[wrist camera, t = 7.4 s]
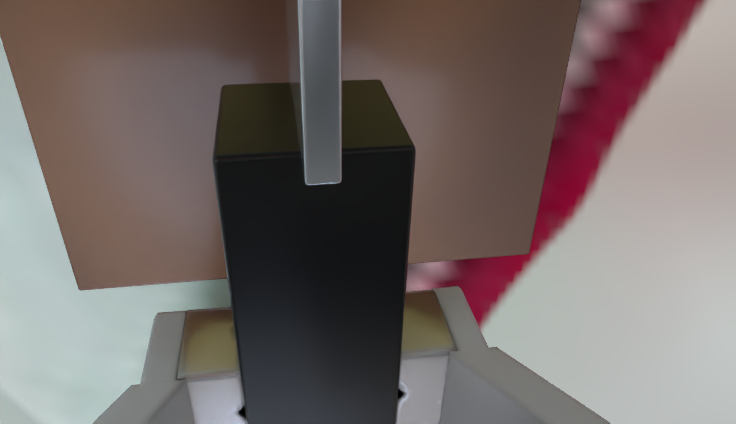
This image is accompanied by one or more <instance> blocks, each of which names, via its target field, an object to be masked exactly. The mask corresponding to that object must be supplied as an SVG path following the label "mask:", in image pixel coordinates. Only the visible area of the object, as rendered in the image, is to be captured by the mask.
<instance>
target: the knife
mask: <svg viewBox="0 0 736 424" xmlns="http://www.w3.org/2000/svg"><path fill="white" fill-rule="evenodd" d="M285 4H286V24H287V44H288V64H289V81H290V82H287V83H258V84H229V85H224V86H222V88H221V92H220V100H219V108H218V116H217V124H216V132H215V140H214V148H213V156H212V165H213V173H214V180H215V188H216V195H217V203H218V211H219V218H220V226H221V233H222V241H223V248H224V256H225V264H226V271H227V279H228V286H229V294H230V301H231V309H232V317H233V324H234V332H235V339H236V347H237V354H238V362H239V370H240V377H241V385H242V392H243V400H244V407H245V415H246V423H247V424H396V416H397V403H398V389H399V375H400V362H401V348H402V335H403V321H404V308H405V294H406V280H407V267H408V253H409V240H410V226H411V212H412V199H413V185H414V172H415V158H416V149H415V146H414V144H413V142H412V140H411V138H410V136H409V134H408V132H407V130H406V128H405V126H404V124H403V123H402V121H401V119H400V117H399V115H398V113H397V111H396V109H395V107H394V105H393V103H392V101H391V99H390V97H389V95H388V93H387V91H386V89H385V87H384V85H383V83H382V81H380V80H378V79H373V80H345V81H342V0H285Z"/></svg>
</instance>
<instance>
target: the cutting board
mask: <svg viewBox="0 0 736 424" xmlns="http://www.w3.org/2000/svg"><path fill="white" fill-rule="evenodd" d="M580 3H581V0H342V81H345V80H373V79H378V80H380V81H382V83H383V85H384V87H385V89H386V91H387V93H388V95H389V97H390V99H391V101H392V103H393V105H394V107H395V109H396V111H397V113H398V115H399V117H400V119H401V121H402V123H403V124H404V126H405V128H406V130H407V132H408V134H409V136H410V138H411V140H412V142H413V144H414V146H415V149H416V158H415V172H414V185H413V199H412V212H411V226H410V240H409V253H408V264H412V263H424V262H436V261H449V260H461V259H473V258H485V257H498V256H510V255H522V254H529V251H530V246H531V241H532V236H533V232H534V227H535V222H536V217H537V212H538V207H539V202H540V197H541V193H542V188H543V183H544V178H545V173H546V168H547V163H548V158H549V154H550V149H551V144H552V139H553V134H554V129H555V124H556V120H557V115H558V110H559V105H560V100H561V95H562V90H563V85H564V81H565V76H566V71H567V66H568V61H569V56H570V51H571V46H572V42H573V37H574V32H575V27H576V22H577V17H578V12H579V8H580ZM0 36H1V39H2V42H3V46H4V49H5V52H6V55H7V59H8V62H9V65H10V68H11V72H12V75H13V78H14V81H15V85H16V88H17V91H18V94H19V98H20V101H21V104H22V107H23V110H24V114H25V117H26V120H27V123H28V127H29V130H30V133H31V136H32V140H33V143H34V146H35V149H36V153H37V156H38V159H39V162H40V166H41V169H42V172H43V175H44V178H45V182H46V185H47V188H48V191H49V195H50V198H51V201H52V204H53V208H54V211H55V214H56V217H57V221H58V224H59V227H60V230H61V234H62V237H63V240H64V243H65V247H66V250H67V253H68V256H69V259H70V263H71V266H72V269H73V272H74V276H75V279H76V282H77V285H78V289H79V290H92V289H104V288H116V287H129V286H141V285H153V284H165V283H178V282H190V281H202V280H215V279H227V271H226V264H225V256H224V248H223V241H222V233H221V226H220V218H219V211H218V203H217V195H216V188H215V180H214V173H213V165H212V156H213V148H214V140H215V132H216V124H217V116H218V108H219V100H220V92H221V88H222V86H224V85H229V84H258V83H287V82H290V81H289V64H288V44H287V24H286V4H285V0H0Z"/></svg>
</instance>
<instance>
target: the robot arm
mask: <svg viewBox="0 0 736 424" xmlns="http://www.w3.org/2000/svg"><path fill="white" fill-rule="evenodd" d="M92 424H247V423H246V415H245V407H244V400H243V392H242V385H241V377H240V370H239V362H238V354H237V347H236V339H235V332H234V324H233V317H232V309H231V307H228V308H213V309H198V310H188V311H176V312H161V313H157V315H156V316H155V318H154V320H153V325H152V330H151V335H150V340H149V345H148V349H147V354H146V359H145V364H144V369H143V374H142V378H141V383H140V384H138V385H131V386H130V387H129V388H128V389H127V390H126V391H125V392H124V393H123V394H122V395H121V396H120V397H119V398H118V399H117V400H116V401H115V402H114V403H113V404H112V405H111V406H110V407H109V408H107V409H106V410H105V411H104V412H103V413H102V414H101V415H100V416H99V417H98V418H97V419H96V420H95V421H94V422H93V423H92ZM396 424H610V423H609V422H608V421H607V420H605V419H604V418H602V417H601V416H599V415H598V414H596V413H595V412H593V411H592V410H590V409H589V408H587V407H585V406H584V405H583V404H581V403H580V402H578V401H577V400H575V399H574V398H572V397H571V396H569V395H568V394H566V393H565V392H563V391H561V390H560V389H559V388H557V387H556V386H554V385H553V384H551V383H549V382H548V381H547V380H545V379H544V378H542V377H541V376H539V375H537V374H536V373H535V372H533V371H531V370H530V369H528V368H527V367H526V366H524V365H523V364H521V363H520V362H518V361H517V360H515V359H514V358H512V357H510V356H509V355H507V354H506V353H504V352H503V351H501V350H500V349H498V348H497V347H492V348H488V346H487V343H486V341H485V339H484V337H483V335H482V333H481V331H480V328H479V326H478V324H477V322H476V320H475V318H474V315H473V313H472V311H471V309H470V307H469V305H468V302H467V300H466V298H465V296H464V294H463V292H462V290H461V289H460V288H459V287H458V286H455V287H446V288H436V289H431V290H422V291H411V292H406V294H405V308H404V321H403V335H402V348H401V362H400V375H399V389H398V403H397V416H396Z"/></svg>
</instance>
